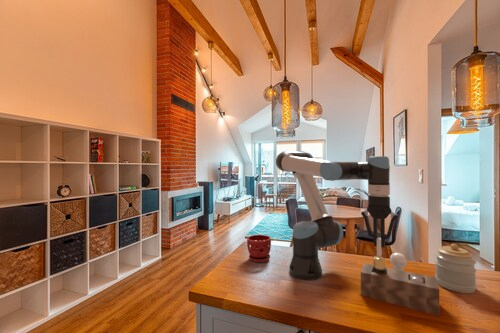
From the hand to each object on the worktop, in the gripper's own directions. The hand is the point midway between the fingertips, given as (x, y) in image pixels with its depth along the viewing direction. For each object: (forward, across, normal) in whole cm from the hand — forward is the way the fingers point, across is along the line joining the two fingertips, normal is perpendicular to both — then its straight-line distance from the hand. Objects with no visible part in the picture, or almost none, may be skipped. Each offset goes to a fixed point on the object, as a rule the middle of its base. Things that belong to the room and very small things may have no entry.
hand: (379, 254), depth 92 cm
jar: (+16, +26, +24) cm, 39 cm away
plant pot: (+16, -58, +4) cm, 60 cm away
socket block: (+15, +6, 0) cm, 16 cm away
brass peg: (+9, 0, 0) cm, 9 cm away
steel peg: (+14, +12, 0) cm, 18 cm away
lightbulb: (+16, +6, +20) cm, 26 cm away
